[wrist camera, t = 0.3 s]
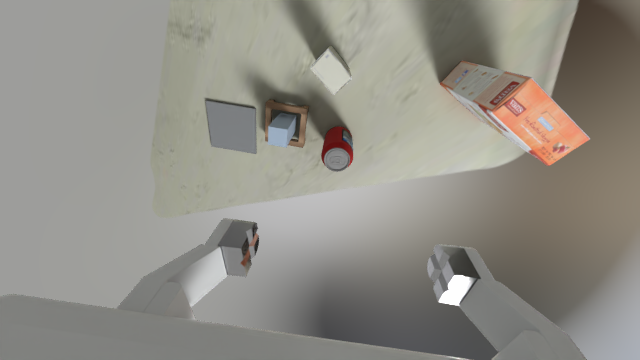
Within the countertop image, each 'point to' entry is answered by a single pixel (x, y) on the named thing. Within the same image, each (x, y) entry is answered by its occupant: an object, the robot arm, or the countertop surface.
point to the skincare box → (331, 70)
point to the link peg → (282, 129)
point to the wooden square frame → (290, 108)
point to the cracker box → (515, 110)
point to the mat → (232, 126)
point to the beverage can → (337, 149)
